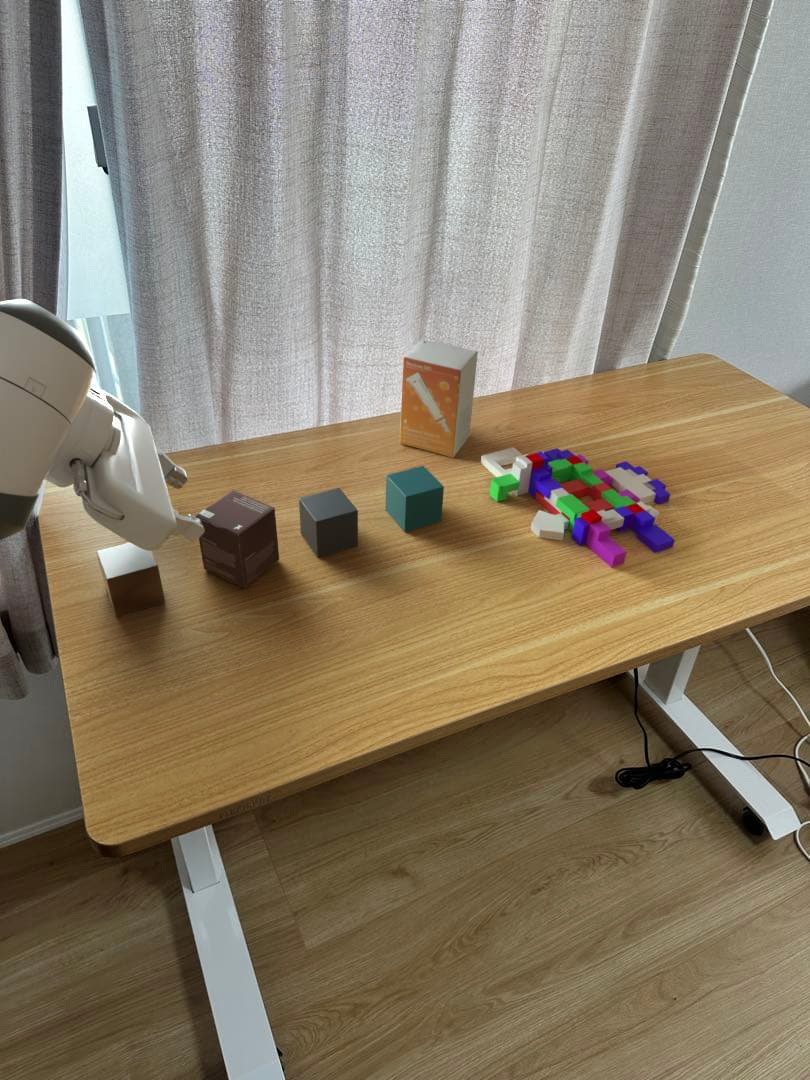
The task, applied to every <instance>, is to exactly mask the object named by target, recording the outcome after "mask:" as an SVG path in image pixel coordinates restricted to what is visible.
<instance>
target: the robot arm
mask: <svg viewBox="0 0 810 1080" xmlns="http://www.w3.org/2000/svg"><path fill="white" fill-rule="evenodd" d="M94 359H95V358H94V356H93V354H92V352H91V350H90V347H89V345H88V343H87V341H86V339H85V337H84V336H83V334H82V333H81V332H80V331H79V330H77V329H76V328H74V327H73V326H71V325H70V324H69V323H67V322H66V321H64V319H61V318H60V317H58V316H57V315H55V314H53V313H52V312H51V311H49V310H47V309H45V308H43V307H42V306H40V305H38V304H36V303H35V302H33V301H30V300H28V299H26V298H19V299H11V300H10V299H9V300H4V301H0V541H3V540H5V539H7V538H9V537H12V536H14V535H16V534H18V533H20V532H21V531H23V530H25V529H26V527H27V525H28V523H29V520H30V518H31V516H32V513H33V511H34V509H35V506H36V503H37V501H38V498H39V496H40V494H39V492H40V490H41V488H42V486H43V485H44V482H45V481H46V482H49V483H50V484H53V485H55V486H56V487H58V488H69V487H71V486H72V485H73V486H72V487H73V491H74V494H75V495H76V496H78V497H80V498H81V503H82V506H83V509H84V511H85V512H86V514H88V515H89V517H90V518H91V519H93V520H94V521H95V522H96V523H97V524H99V525H101V526H102V527H104V528H105V529H107V530H108V531H110V532H112V533H113V534H115V535H117V536H118V537H119V538H122V539H123V540H125V541H127V542H128V543H129V542H131V543H132V544H134V545H136V546H138V547H140V548H142V549H144V550H147V551H158V549H160V548H161V547H162V546H163V545H164V544H165V542H167V541H168V540H169V538H170V537H171V536H181V537H183V538H186V539H187V540H189V541H191V542H197V541H199V538H200V537H201V535H202V534H203V533H204V531H205V529H204V527H203V524H202V521H201V520H200V519H198V518H196V517H195V516H196V515H193V514H191V513H188V515H187V516H185V515H181V514H179V511H178V510H177V509H175V508H173V504H172V500H171V496H170V493H169V490H168V486H167V485H169V486H170V487H173V489H177V490H180V489H181V488H183V487H184V486H185V484H186V483H188V481H189V479H188V475H187V472H186V470H185V469H184V468H183V467H181V466H179V465H177V464H176V463H174V461H173V460H172V459H171V458H170V457H169V456H167V455H166V453H164V451H162V450H161V448H159V447H157V446H156V444H155V441H154V437H153V433H152V430H151V426H150V424H148V422H147V421H146V420H145V419H144V418H143V417H142V416H141V415H140V414H138V413H137V412H136V411H135V410H133V409H132V408H131V407H129V406H128V405H126V404H125V403H123V402H122V401H121V400H119V399H118V398H116V397H115V396H114V395H112V394H110V393H108V392H107V391H105V390H103V389H101V388H100V385H99V383H98V381H97V380H95V375H96V374H97V367H96V363H95V360H94Z"/></svg>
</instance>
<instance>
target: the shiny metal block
mask: <svg viewBox="0 0 810 1080" xmlns="http://www.w3.org/2000/svg"><path fill="white" fill-rule="evenodd" d="M152 551H153V550H152ZM152 551H147V550H144V549H142V548H140V547H138V546H136V545H134V544H132V543H131V542H129V541H128V542H126V543H122V544H118V545H114V546H110V547H106V548H103V549H99V550H96V552H95V554H96V556H97V557H96V558H97V561H98V565H99V568H100V571H101V576H102V580H103V585H104V587H105V588H104V589H105V590H106V593H107V596H108V599H109V602H110V604H111V607H112V610H113V613H114V615H115V617H116V618H117V617H121V616H124V615H128V614H131V613H134V612H138V611H142V610H145V609H148V608H152V607H155V606H159V605H161V604H165V603H166V599H165V594H164V589H163V584H162V579H161V573H160V569H159V565H158V562H157V561H156V559H155V555H154V554H153V552H152Z"/></svg>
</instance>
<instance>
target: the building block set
mask: <svg viewBox="0 0 810 1080" xmlns="http://www.w3.org/2000/svg"><path fill="white" fill-rule="evenodd" d="M480 464H481V465H482V466H484V468H485V469H486V470H488V471H489V472H490V473H491V474H492V475H493V476H494V478H492V479H491V483H490V487H489V488H490V489H489V496H490V497H491V498H492V499H493V500H494V501H495V502H500V501H505V500H507V499H508V494H509V493H510V492H511V493H513V494H514V495H515V496H517V497H518V496H521V495H525V494H528V495H530V496H531V497H532V498H533V499H535V500H536V501H537V503H539V504H540V505H541V506H542V507H543V508H545V509H546V510H547V511H548V512H546V511H543V510H540V509H538V511H537V513H536V514H535V516H534V518H533V520H532V521H531V525H530V531H531V532H532V533H533V534H534V535H535V536H536V537H537V538H538V539H548V540H556V541H561V542H563V540H564V535H565V530H567V529H568V530H569V531H570V532H571V539H572V540H573V541H574V542H575V543H576V544H577V545H579V546H580V547H581V546H584V545H586V546H587V547H588V548H589V549H590V550H591V551H592V552H593V553H594V554H596V555H597V556H598V557H599V558H600V559H602V561H603V562H605V563H606V564H607V565H608V566H609V567H610V568H615V567H618V566H621V565H623V564H624V563H625V560H626V556H627V550H625V548H623V547H622V546H621V545H620V544H618V542H616V541H615V540H614V539H613V538H611V537H610V534H611V531H612V530H616V531H617V532H618V533H621V532H624V531H627V530H629V529H630V530H631V531H632V532H633V533H634V534H636V539H637V540H639V542H640V543H643V544H644V545H645V546H646V547H647V548H648V549H650V550H651V551H652V552H653V553H655V554H657V553H660V552H663V551H666V550H669V549H672V548H673V547H674V544H675V541H676V539H675V538H674V537H673V536H671V535H670V534H668V532H666V531H665V530H664V529H662V528H661V527H660V526H658V525H657V524H656V523H657V521H658V520H659V516H660V511H658V510H657V509H655V508H654V507H653V506H651V505H650V504H649V503H653V502H654V503H655V504H657V505H660V504H662V505H663V504H665V503H667V502H669V500H670V497H671V493H670V492H668V491H667V490H666V488H667V484H666V483H664V482H662V480H660V479H658V478H655V479H651V478H650V477H649V476H648V475H649V471H647V470H646V469H644V468H643V467H642V466H640V465H638V466H634V465H632V464H631V463H630V462H628V461H622V462H619V463H616V464H615V467H614V468H613V469H609V470H606V471H605V470H603V469H602V468H601V469H598V470H594V471H592V470H593V468H592V467H591V466H589V460H588V459H587V458H586V457H585V456H583V455H582V454H576V455H575V454H574V453H573V452H572V451H570V450H569V449H564V450H561V449H560V448H558V447H556V448H552V449H549V450H545V451H543V452H542V451H538V452H533V453H530V454H527V453H526V454H522V453H521V452H520V451H519V450H518V449H516V448H515V447H514V446H513V447H509V448H506V449H503V450H497V451H495V452H491V453H487V454H483V455H481V458H480ZM511 464H512V467H511V468H507V469H505V468H503V466H507V465H511ZM612 487H613V488H612ZM614 489H615V490H614ZM588 495H589V497H591V498H592V499H593V500H592V501H590V502H587V503H583V502H582V501H581V500H579V498H581V497H585V496H588ZM647 504H648V505H647Z"/></svg>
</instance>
